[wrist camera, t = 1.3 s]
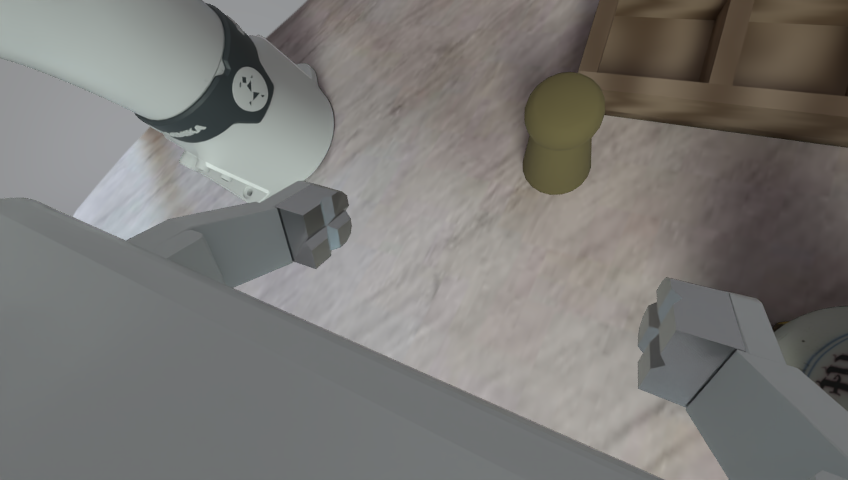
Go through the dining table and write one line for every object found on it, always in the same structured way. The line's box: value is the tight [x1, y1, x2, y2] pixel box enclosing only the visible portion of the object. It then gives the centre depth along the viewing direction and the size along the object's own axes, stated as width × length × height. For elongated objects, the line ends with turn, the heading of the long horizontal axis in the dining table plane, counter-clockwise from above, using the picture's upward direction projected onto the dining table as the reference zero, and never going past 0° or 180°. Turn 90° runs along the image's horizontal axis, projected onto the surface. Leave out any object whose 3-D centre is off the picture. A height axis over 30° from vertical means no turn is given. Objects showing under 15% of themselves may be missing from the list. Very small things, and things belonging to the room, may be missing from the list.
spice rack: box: [578, 0, 848, 147], centre depth 28 cm, size 20×11×4 cm, turn 72°
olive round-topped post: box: [523, 72, 605, 195], centre depth 28 cm, size 6×6×11 cm
